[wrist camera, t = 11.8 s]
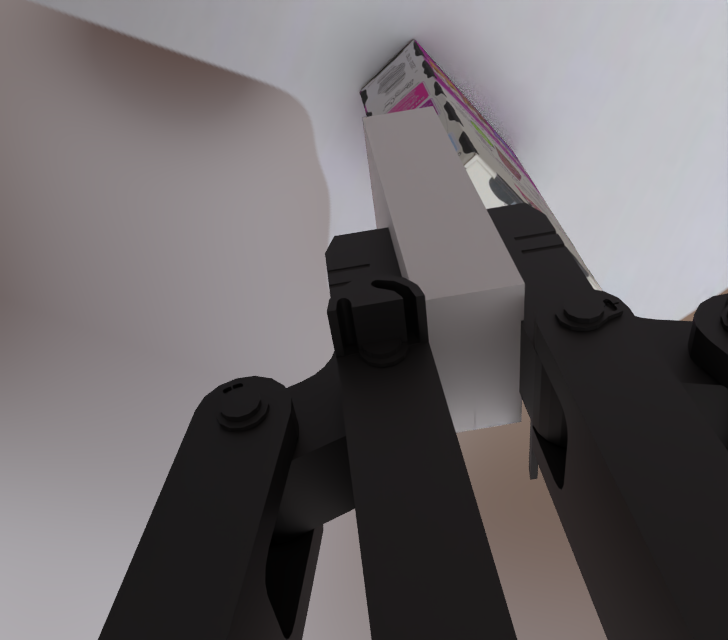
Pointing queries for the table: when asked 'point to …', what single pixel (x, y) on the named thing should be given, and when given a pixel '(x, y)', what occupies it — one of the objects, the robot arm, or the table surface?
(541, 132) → the table surface
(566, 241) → the candy bar box
